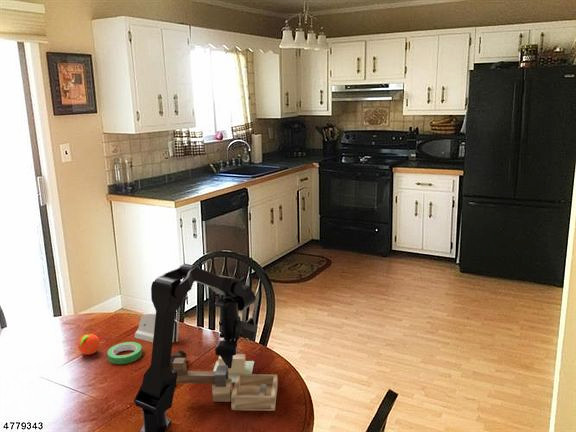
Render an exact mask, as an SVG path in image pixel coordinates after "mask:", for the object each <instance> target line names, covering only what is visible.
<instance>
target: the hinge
mask: <svg viewBox="0 0 576 432" xmlns="http://www.w3.org/2000/svg"><path fill="white" fill-rule="evenodd" d="M155 318H156V312H150V313H145V314H142V315H141V317H140V320H139V323H138V328H137V330H136V331H135V334H134V338H135V339H138V340H141V341H146V342H148V343H152V344H153V338H154V328H155ZM179 324H180V323H179V321H178V320H177V319H175V322H174V332H173V342H172V343H175V342H178V341H179V328H180V327H179Z"/></svg>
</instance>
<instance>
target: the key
mask: <svg viewBox="0 0 576 432" xmlns="http://www.w3.org/2000/svg"><path fill="white" fill-rule="evenodd" d="M186 358H187V357H186ZM186 358H175V359H174V361H173V363H172V364H173V371H176V372H177V380H176V384H213V383H215V372H216V371H213V370H209V371H208V370H203V371H202V370H197V371H195V370H187V360H186Z"/></svg>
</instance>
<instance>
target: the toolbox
mask: <svg viewBox="0 0 576 432" xmlns="http://www.w3.org/2000/svg"><path fill="white" fill-rule="evenodd" d="M233 384H234V386H233ZM278 384H279V383H278V374H274V373H272V374H270V373H269V374H268V373H266V374H265V373H257V374H255V373H252V374H237V377H236V381H235V383H232V378H229V375H228V366H217V369H216V372H215V383H212V384H211V385H212V386H211V389H212V390H211V391H212V402H215V403H216V402H221V403H222V402H225V403H226V402H228V403H230V402H231V411H276V402H277V396H278V395H277V394H278Z"/></svg>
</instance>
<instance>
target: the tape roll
mask: <svg viewBox="0 0 576 432" xmlns="http://www.w3.org/2000/svg"><path fill="white" fill-rule="evenodd" d="M124 351H133V352H130V353H129V354H123V355H117V354H119V353H121V352H124ZM142 355H143V347H142V344H140V343H139V342H135V341H125V342H120V343H117V344H115V345H112V346H111V347H110V348H109V349H108V350H107V361H109V363H111V364H115V365H125V364H130V363H133V362H135V361H137V360H139V359H140V358H141V357H142Z"/></svg>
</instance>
